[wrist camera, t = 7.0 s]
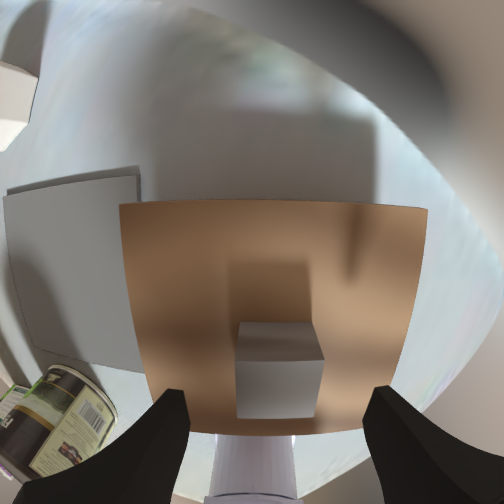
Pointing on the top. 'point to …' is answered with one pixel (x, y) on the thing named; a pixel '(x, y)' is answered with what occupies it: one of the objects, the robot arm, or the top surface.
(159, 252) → the lid
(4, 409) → the syrup box
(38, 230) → the mat
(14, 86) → the jar
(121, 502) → the robot arm
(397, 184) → the top surface
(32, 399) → the coffee can
